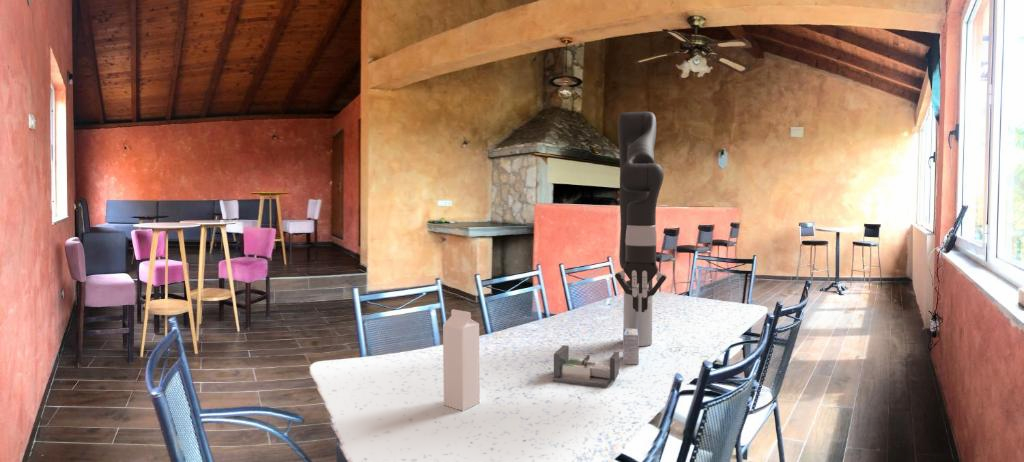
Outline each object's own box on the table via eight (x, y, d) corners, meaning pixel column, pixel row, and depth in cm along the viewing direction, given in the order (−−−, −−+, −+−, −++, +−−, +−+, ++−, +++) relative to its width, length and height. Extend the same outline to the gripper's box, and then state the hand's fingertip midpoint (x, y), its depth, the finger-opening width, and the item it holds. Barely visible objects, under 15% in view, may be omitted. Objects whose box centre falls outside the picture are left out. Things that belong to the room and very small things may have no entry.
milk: (460, 398, 129) (460, 307, 128) (480, 403, 125) (479, 309, 124) (443, 405, 124) (442, 311, 123) (462, 411, 120) (462, 314, 119)
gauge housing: (564, 368, 150) (564, 344, 150) (614, 374, 145) (614, 349, 145) (552, 381, 140) (552, 354, 140) (605, 388, 135) (606, 360, 134)
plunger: (584, 369, 145) (584, 348, 145) (618, 373, 142) (619, 352, 142) (579, 376, 140) (579, 354, 140) (614, 380, 137) (614, 358, 136)
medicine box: (638, 365, 154) (639, 335, 153) (622, 364, 154) (623, 334, 154) (637, 357, 161) (638, 328, 161) (622, 356, 162) (623, 327, 162)
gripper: (670, 242, 136) (669, 310, 137) (616, 241, 141) (616, 306, 142) (667, 245, 129) (666, 316, 130) (611, 243, 134) (610, 312, 135)
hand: (640, 311), depth 136 cm, fingers closed
